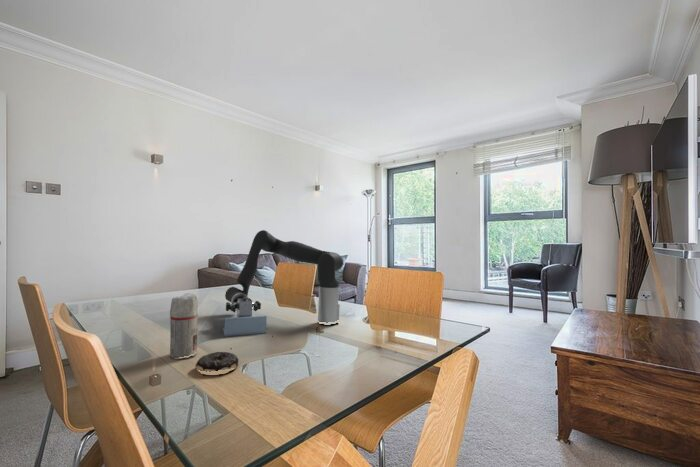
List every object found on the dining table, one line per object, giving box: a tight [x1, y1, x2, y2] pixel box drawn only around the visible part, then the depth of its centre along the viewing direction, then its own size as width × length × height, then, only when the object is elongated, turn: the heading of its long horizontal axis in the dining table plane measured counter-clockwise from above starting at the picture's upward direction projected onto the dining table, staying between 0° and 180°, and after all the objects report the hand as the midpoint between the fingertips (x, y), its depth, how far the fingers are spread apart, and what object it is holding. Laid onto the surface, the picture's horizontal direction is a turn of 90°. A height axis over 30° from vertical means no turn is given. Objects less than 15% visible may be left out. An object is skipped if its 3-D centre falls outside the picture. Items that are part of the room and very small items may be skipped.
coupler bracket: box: [222, 315, 268, 337], centre depth 138 cm, size 16×10×7 cm, turn 115°
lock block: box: [236, 296, 253, 317], centre depth 139 cm, size 5×7×13 cm
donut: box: [195, 351, 239, 372], centre depth 98 cm, size 11×12×4 cm
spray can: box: [169, 292, 199, 360], centre depth 108 cm, size 8×8×20 cm
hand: (245, 309), depth 137 cm, fingers open, 8 cm apart
